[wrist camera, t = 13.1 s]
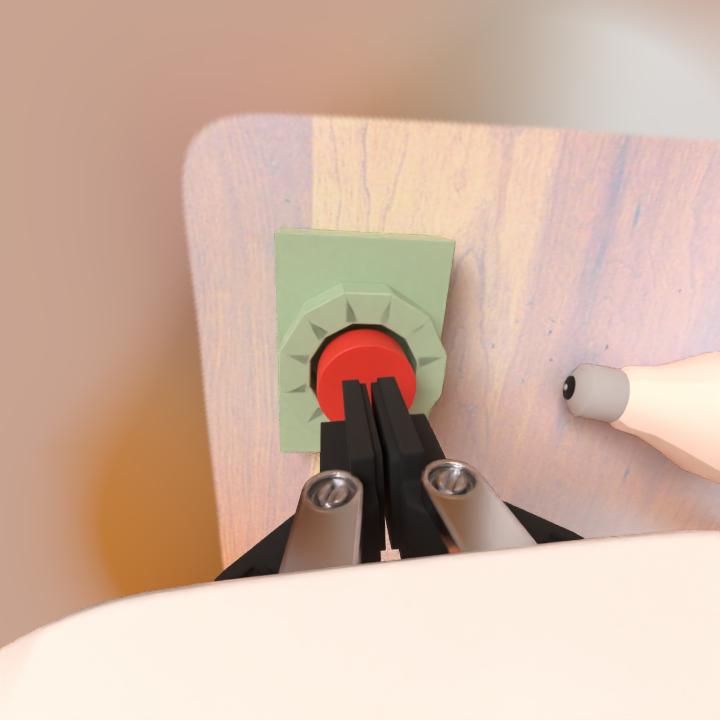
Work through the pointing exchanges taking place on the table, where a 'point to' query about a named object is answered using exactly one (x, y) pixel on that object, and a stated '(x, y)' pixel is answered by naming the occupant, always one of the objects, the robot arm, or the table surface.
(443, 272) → the control block
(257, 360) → the table surface
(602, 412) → the light bulb
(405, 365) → the button
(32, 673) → the robot arm
